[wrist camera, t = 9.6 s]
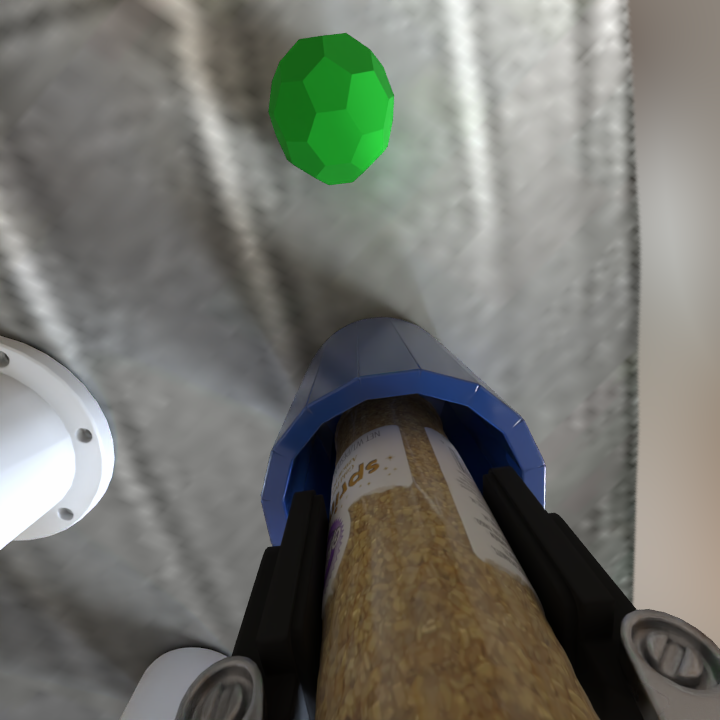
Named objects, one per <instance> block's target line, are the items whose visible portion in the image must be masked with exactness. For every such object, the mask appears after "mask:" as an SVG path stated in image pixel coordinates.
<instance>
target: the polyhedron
mask: <svg viewBox="0 0 720 720" xmlns="http://www.w3.org/2000/svg"><path fill="white" fill-rule="evenodd" d="M393 105H394V94H393V92H392V89H391V86H390V84H389V81H388V78H387V76H386V73H385V70H384V67H383V66H382V65H381V63H380V62H379V61H378V59H377V58H376V57H375V55H374V54H373V53H372V51H371V50H370V49H369V48H367V47H366V46H364V45H363V44H361V43H360V42H358V41H357V40H356V39H354V38H353V37H351V36H350V35H348V34H347V33H343V34H334V35H325V36H318V37H311V38H305V39H299V40H298V41H297V42H296V43H295V45H294V46H293V47H292V48H291V49H290V50H289V52H288V53H287V54H286V55H285V56H284V57H283V58H282V60H281V61H280V62H279V65H278V67H277V70H276V72H275V75H274V77H273V80H272V85H271V94H270V102H269V111H268V112H269V115H270V119H271V122H272V125H273V128H274V131H275V134H276V137H277V139H278V141H279V143H280V145H281V147H282V150H283V152H284V154H285V156H286V158H287V160H288V161H289V162H291V163H292V164H293V165H295V166H296V167H298V168H300V169H301V170H303V171H305V172H306V173H308V174H310V175H311V176H313V177H314V178H316V179H318V180H320V181H322V182H324V183H326V184H328V185H334V184H342V183H350V182H353V181H354V180H356V179H357V178H358V177H359V176H360V175H361V174H362V173H363V172H364V171H365V170H366V169H367V168H368V167H369V166H370V165H371V164H372V163H373V162H374V161H375V160H376V159H377V158H378V157H379V156H380V155H381V154H382V153H383V152H384V151H385V149H386V148H387V147H388V142H389V136H390V131H391V126H392V121H393Z"/></svg>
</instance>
